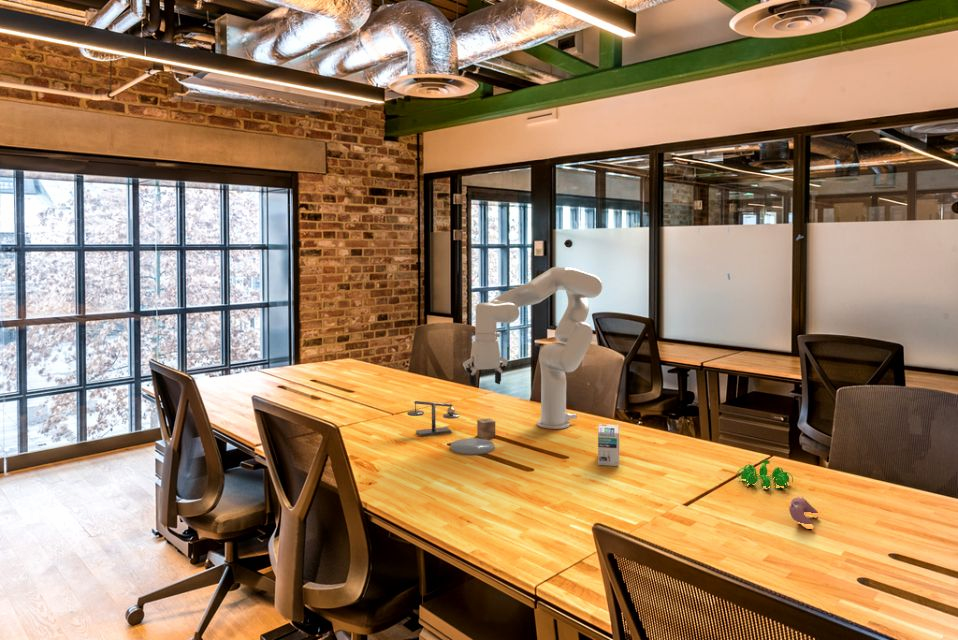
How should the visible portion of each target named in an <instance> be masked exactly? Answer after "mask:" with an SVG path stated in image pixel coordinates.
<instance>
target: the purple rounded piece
mask: <svg viewBox="0 0 958 640" xmlns="http://www.w3.org/2000/svg"><path fill="white" fill-rule="evenodd" d="M788 510H789V514H790V516H791V518H792V519H793V521H795V522H796V521H797V522H800V523H804V524H813V525H814V523H813V522H812V521H811V520H810V519H809V518H808V516H807V515H806V514H805V515H806V516H805V515H804V512H811V513H819V512H818V511H817V509H816V508H814V507H813V506H812V505H811V504H810V503H809V501H807V500H806V499H805V498H804V497H803V496H802V497H794V498H792V499H791V503H790V506H789V507H788ZM797 522H796V523H797Z"/></svg>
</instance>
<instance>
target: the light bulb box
mask: <svg viewBox="0 0 958 640" xmlns="http://www.w3.org/2000/svg"><path fill="white" fill-rule="evenodd" d="M597 430H598V432H597V449H598V450H597V465H598V466H607V467H609V466H611V467H612V466H613V467H620V466H619V465H620V425H619V424H607V423H606V424H605V423H604V424H603V423H599V424H598V429H597Z"/></svg>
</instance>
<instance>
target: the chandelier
mask: <svg viewBox="0 0 958 640" xmlns="http://www.w3.org/2000/svg"><path fill="white" fill-rule="evenodd" d="M761 464H762V465H761V466H760V467H759V471H758V473H759V474H760V475H759V474H758V473H757V470H756V467H755V466H754V465H753V464H751V463H750V464H745V466H744V467H742V468H740V469H738V471H737V474H736V475H737V476H736V477H737V479H738V478H739V479H740V480H741V479H746V481H745V485H746V484H748V483H749V484H755V483H756V482H757V483H758V480H760V479H762V480H761V481H762V483H761V486H762V485H763V486H766V488H768V487H769V486H770V487H771V482H772V481H773V484H774V483H776V484H777V485H779V486H784V485H785V483H786V485H785V487H787V488H788V486H787V482H789V483H790V476H791V482H794V477H793V475H792V474H791V473H790V472H788V471H784V470H783V468H782V467H779V466H777V467H775V468H774V469H773V470H772V472H771V473H772V474H770V475H768V467H767V465H769V464H771V461H770V460H768V459H761ZM740 471H741V473H740ZM739 473H740V476H739ZM766 475H767V476H766ZM774 477H775V478H774ZM773 478H774V480H773ZM776 479H777V480H776ZM775 480H776V481H775ZM747 481H748V482H747ZM757 483H756V484H757Z"/></svg>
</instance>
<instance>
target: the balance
mask: <svg viewBox="0 0 958 640" xmlns="http://www.w3.org/2000/svg"><path fill="white" fill-rule="evenodd" d="M413 403H414V410H408V411H407V412H406V413H407V415H408V416H410V417H419V416H423V415H424V414H425V413H424V411H423V410H420V409H419V410H417V405H426V406H431V428H425V429H417V430H415V431H416V432H415V433H416V434H417V435H418V436H419V437H420V436H421V437H427V436H428V437H429V436H436V435H445V434H452V430H451V429H450V427H447V426H444V427H436V426H437V425H436V423H437V422H436V417H437V416H436V414H437V413H436V406H437V407H438V406H439V407H440V406H441V407H448V408H447V410H446V412H447V413H444V414H443V415H442V417H443V418H444V419H449V420H450V419H451V420H452V419H458V418H459V417H460V414H459V413H456V410H455V407H453V404H452V403H443V402H442V403H441V402H433V401H432V402H431V401H420V400H415V401H413Z"/></svg>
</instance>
